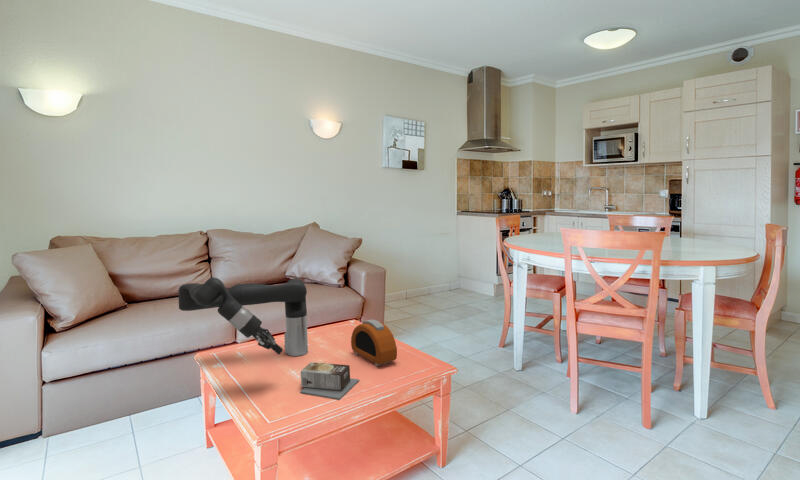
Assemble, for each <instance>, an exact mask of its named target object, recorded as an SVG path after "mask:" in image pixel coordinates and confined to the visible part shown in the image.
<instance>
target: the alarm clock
mask: <svg viewBox="0 0 800 480" xmlns="http://www.w3.org/2000/svg"><path fill="white" fill-rule="evenodd" d="M350 345H351V346H350V347H351V350H352V351H353V352H354V353H355V355H356V356H359V355H360V356H361V357H364V358H365V359H367V360H369V361H370V362H372V363H374V365H375V366H376V367H378V366H382V365H385V364H388V363H391V362H393V361H395V360H396V359H397V358H398V357H397V356H398V347H397V344H396V340H395V337H394V334H393V333H392V332H391V330H390V328H389V327H388V326H387V325H386V324H384V323H383V322H381V321H378V320H377V319H368V320H367V319H366V320H363V321H362V323H361V324H358V325H356V326H355V327H354V329H353V331H352V333H351V337H350Z"/></svg>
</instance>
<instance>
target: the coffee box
mask: <svg viewBox="0 0 800 480" xmlns="http://www.w3.org/2000/svg"><path fill="white" fill-rule="evenodd" d="M350 370H351V369H350V364H349V365H348V364H341V363H340V364H337V363H336V364H335V363H326V362H316V361H315V362H313V361H311V362H309V363H308V364H307V365H306V366H304V367H303V368H302V369H301V370H300V387H303V388H305V387H312V388H321V389H331V390H341V391H342V390H343V389H344V387H345V386H346V385H347V384H348V383H349V382H350V378H351V371H350Z"/></svg>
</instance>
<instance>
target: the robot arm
mask: <svg viewBox="0 0 800 480" xmlns="http://www.w3.org/2000/svg"><path fill="white" fill-rule="evenodd" d="M307 293H308V291H307V287H306V284H305V283H304V281H302V279H299V278H292V279H289V280H288V281H287V282H286V283H283V284H282V283H281V284H274V285H273V284H263V283H256V282H255V283H254V282H253V283H250V282H249V283H238V284H234V285H233V286H231V287H229V288H227V287H226V286H225V284H224V282H223V281H222V280H221V279H220V278H217V277H213V276H212V277H210V278H207V280H206V281H204V282H203V283H197V282H196V283H184V284H182V285H180V286H179V288H178V293H177V294H178V309H179V310H180V311H183V312H188V311H189V312H190V311H201V310H206V309H214V308H217V312H218V314H219V315H220V316H221V317H223V318H224V319H225V320H226V321H228V322H229V324H231V325H232V327H234V329H236V330H237V331H238V332H239V333H241V334H242V335H243V336H244V337H245V338H247V339H248V338H251V336H252V337H253V338H254V340H255V341H256V342H258V343H257V345H258V346H259V347H262V348H264V349H267V350H270V349H271V350H272V351H273V352H275V353H276V355H281V354H282V352H283V350H284V354H285V355H286V354H287V355H288V356H290V357H299V356H304V355H306V354H308V353H309V345H308V342H309V341H308V339H309V338H308V313H307V309H308V308H307V299H306V298H307V296H306V295H307ZM278 302H279V303H284V308H285V309H284V311H285V312H284V314H285V332H284V333H283V334H284V349H283V347H281V345H279V344H278V343H277V342H276V339H275V337H274V336H273V335H272V333H271V332H270V331H269V329H267V328H263V327H262V326H261V325H262V323H263V321H262V320H261V319H259V318H258V317H257V316H256V315H254V314H253V312H251V311H250V310H249V309H248V308H246V307H244V306H252V305H261V304H268V303H278Z"/></svg>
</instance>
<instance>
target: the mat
mask: <svg viewBox="0 0 800 480" xmlns="http://www.w3.org/2000/svg"><path fill="white" fill-rule="evenodd" d="M359 382H360V379H358V378H351V377H350V382H349V383H348V384H347V385H346V386H345V387H344V389H343V390H342V391H341V390H331V389H321V388H312V387H303V388H302V389H301V390H300V391H299V393H300V394H304V395H309V396H316V397H322V398H327V399H332V400H339V401H340V400H341V399H343V397H344V396H345V395H347V394H348V393H349V392H350V391H351V389H353V387H355V386H356V385H357V384H358V383H359Z"/></svg>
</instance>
